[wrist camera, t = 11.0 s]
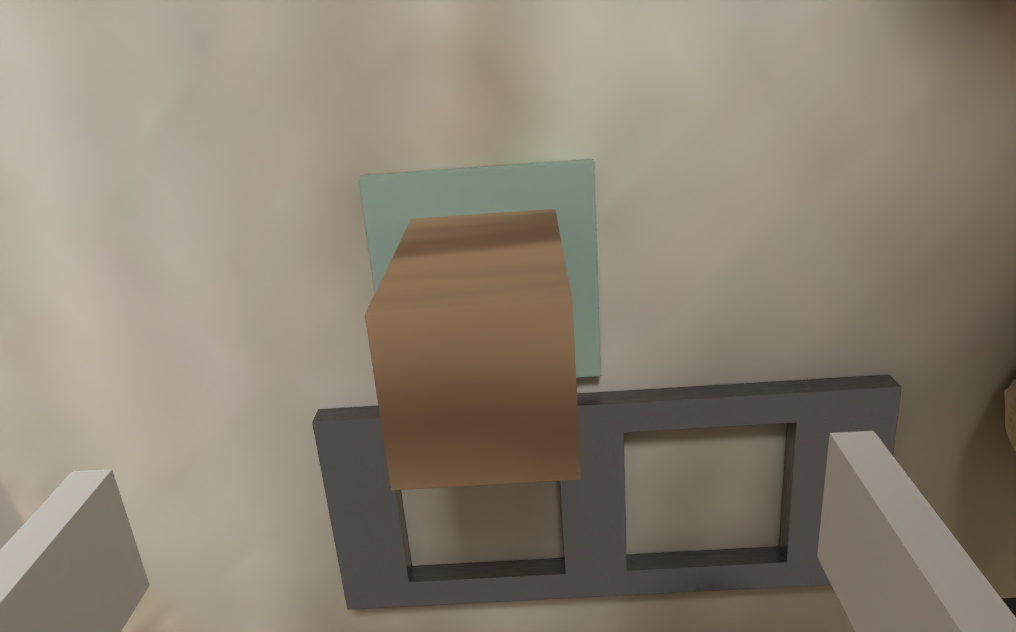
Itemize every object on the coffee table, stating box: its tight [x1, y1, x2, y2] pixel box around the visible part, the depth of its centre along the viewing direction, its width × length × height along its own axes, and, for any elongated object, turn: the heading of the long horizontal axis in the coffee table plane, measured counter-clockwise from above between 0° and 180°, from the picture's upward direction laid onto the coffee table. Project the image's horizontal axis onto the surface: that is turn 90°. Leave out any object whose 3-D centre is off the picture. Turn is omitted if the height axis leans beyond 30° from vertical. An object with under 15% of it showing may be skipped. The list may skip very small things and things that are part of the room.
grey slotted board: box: [312, 375, 901, 609], centre depth 32 cm, size 9×22×1 cm, turn 94°
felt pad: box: [359, 159, 601, 377], centre depth 28 cm, size 8×8×1 cm
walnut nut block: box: [365, 209, 581, 490], centre depth 24 cm, size 5×5×9 cm
